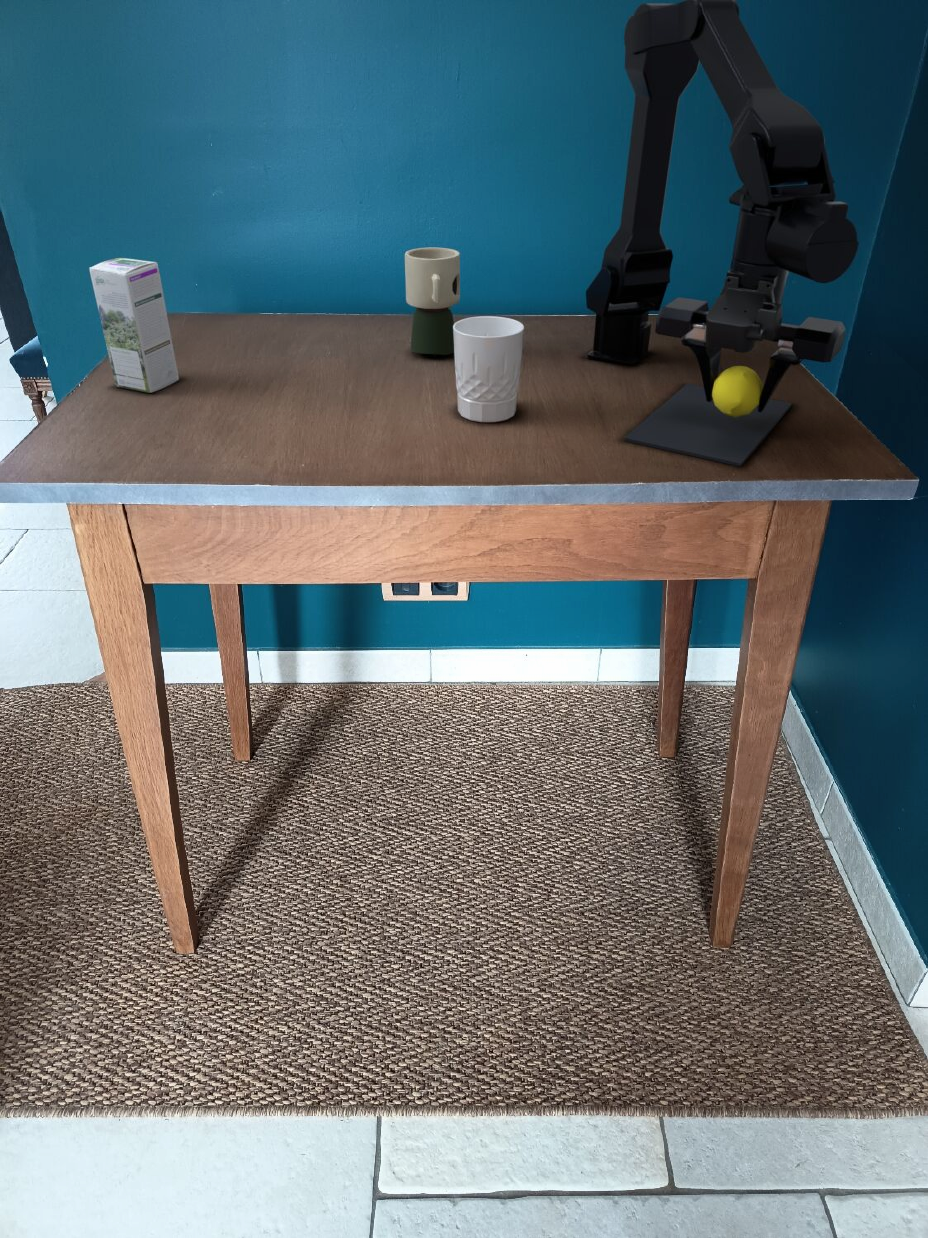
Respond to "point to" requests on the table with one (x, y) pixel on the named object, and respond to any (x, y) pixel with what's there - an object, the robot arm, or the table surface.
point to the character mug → (432, 297)
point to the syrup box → (135, 323)
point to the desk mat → (706, 427)
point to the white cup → (487, 367)
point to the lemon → (737, 391)
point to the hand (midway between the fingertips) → (734, 405)
